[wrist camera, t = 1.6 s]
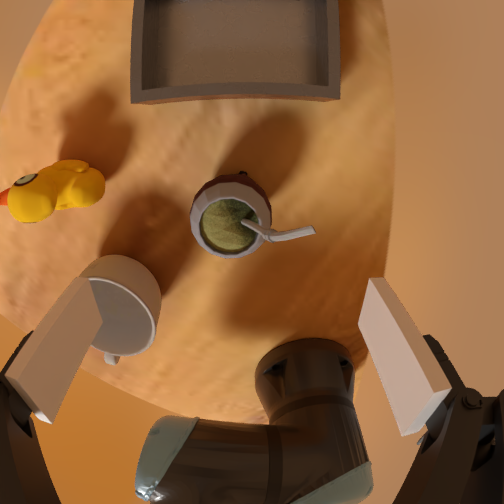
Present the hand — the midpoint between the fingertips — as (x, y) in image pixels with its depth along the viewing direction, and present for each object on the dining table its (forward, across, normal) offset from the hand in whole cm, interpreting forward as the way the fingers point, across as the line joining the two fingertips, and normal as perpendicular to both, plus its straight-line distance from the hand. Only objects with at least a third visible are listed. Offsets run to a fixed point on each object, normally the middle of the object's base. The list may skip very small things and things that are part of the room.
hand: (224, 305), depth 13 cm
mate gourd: (+19, 0, 0) cm, 19 cm away
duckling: (+19, +19, -3) cm, 27 cm away
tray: (+19, 0, -17) cm, 25 cm away
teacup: (+19, +15, +12) cm, 27 cm away
